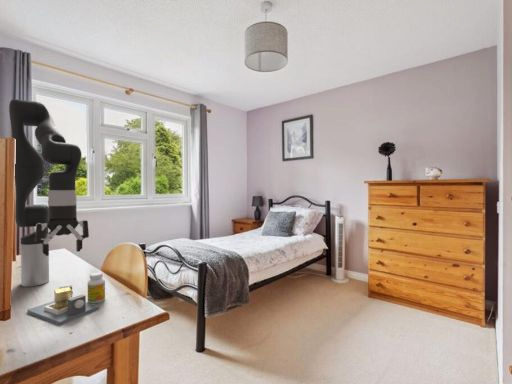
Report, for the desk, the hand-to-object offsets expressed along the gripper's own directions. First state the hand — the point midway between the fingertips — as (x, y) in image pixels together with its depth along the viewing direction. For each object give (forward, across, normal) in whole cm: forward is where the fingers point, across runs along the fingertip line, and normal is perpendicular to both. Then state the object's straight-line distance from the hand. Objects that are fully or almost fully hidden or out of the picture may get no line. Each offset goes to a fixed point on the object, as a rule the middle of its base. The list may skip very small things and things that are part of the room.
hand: (63, 253), depth 90 cm
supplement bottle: (+19, +10, +2) cm, 22 cm away
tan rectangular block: (+18, 0, 0) cm, 18 cm away
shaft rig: (+19, 0, 0) cm, 19 cm away
